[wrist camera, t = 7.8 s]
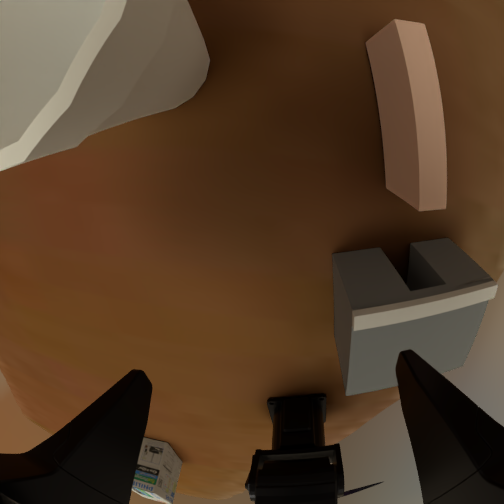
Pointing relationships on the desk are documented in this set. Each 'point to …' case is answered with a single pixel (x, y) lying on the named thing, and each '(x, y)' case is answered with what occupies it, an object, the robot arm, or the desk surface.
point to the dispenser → (405, 311)
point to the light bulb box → (157, 471)
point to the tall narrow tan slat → (410, 114)
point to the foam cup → (91, 69)
